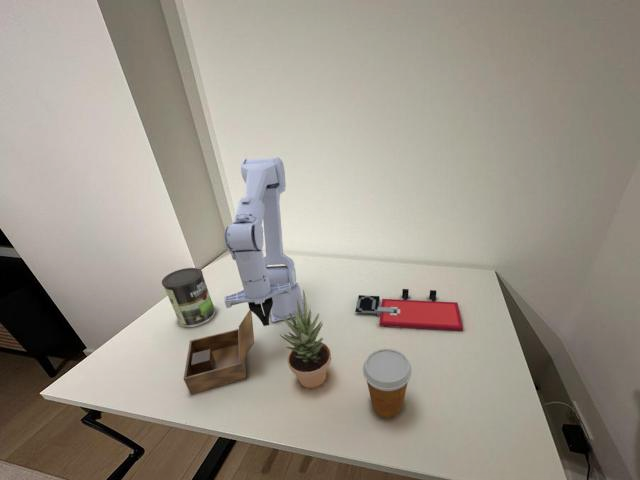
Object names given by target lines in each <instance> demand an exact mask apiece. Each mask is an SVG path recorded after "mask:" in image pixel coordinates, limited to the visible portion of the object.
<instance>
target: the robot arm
mask: <svg viewBox="0 0 640 480" xmlns="http://www.w3.org/2000/svg"><path fill="white" fill-rule="evenodd" d="M285 171H286V170H285V166H284V162H283V159H281V158H280V157H279V156H277V157H273V158H272V157H271V158H249V159H248V158H243V160H242V161H241V163H240V173H241V177H242V180H243V181H244V183H245V189H244V190H245V192H244V197H241V198H240V199H239V200H238V203H237V206H236V209H235V213H234V216H233V221H232V223H230V224H229V226H226V228H225V229H224V242H225V243H224V244H225V248H226V249H227V251H228V252H229V253H230V256H231V259H232V260H233V261H235V264H236V267H237V270H238V274H239V278H240V281H241V285H242V288H243V290H240V291H237V292H235V293H232V294H230V295H226V296H224V304H225V307H226V309H230V308H232V307H233V306H236V305H239V304H245V303H247V305H248V309H249V310H251V311H252V314H254V315H255V316H256V317H257V318H258V319H259V321H260V322H261V324H262V326H263V327H267V326H270V317H271V322H272V323H275V322H280V321H285V320H284V318H283V316H284V317H285V318H286V319H287V320H288V319H291V317H290V315H289V313H290V314H291V315H292V317H293V318H295V315H294V310H295V311H296V313H297V315H298V309H297V299H298V302H299V305H300V308H301V312H302V315H303V316H304V304H303V302H304V300H303V295H302V292H301V288H300V283H299V282H298V281H297V272H296V271H297V270H296V267H295V262H294V260H293V259H292V258H291V257H289V256H288V255H287V254H285V253H284V243H283V231H282V220H281V217H282V216H281V206H280V202H281V201H280V199H281V194H282V193H284V192H286V186H287V185H286V183H287V182H286V172H285ZM264 244H265V245H264ZM263 247H265V255H264V252H263V251H264V250H263Z"/></svg>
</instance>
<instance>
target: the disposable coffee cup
mask: <svg viewBox="0 0 640 480" xmlns="http://www.w3.org/2000/svg"><path fill="white" fill-rule="evenodd" d="M412 373H413V368H412V365H411V363H410V361H409V359H408V357H407V356H406V354H404V353H403V352H401V351H399V350H396V349H393V348H380V349H377V350H374V351H373V352H371V353H370V354H369V355H368V356H367V357H366V359H365V361H364V363H363V365H362V374H363V378H364V379H365V381H366V384H367V389H368V393H369V397H370V401H371V406H372V410H373V411H374V413H375V414H376V415H378V416H379V417H381V418H384V419H390V418H394V417H396V416H398V415H399V414H400V413H401V411H402V409H403V405H404V399H405V396H406V393H407V388H408V383H409V381H410V379H411V378H412Z"/></svg>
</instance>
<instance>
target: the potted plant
mask: <svg viewBox="0 0 640 480" xmlns="http://www.w3.org/2000/svg"><path fill="white" fill-rule="evenodd" d="M302 300H303V308H304V315H302V312H301V308H300V305H299V302H298V299H297V309H298V315H297V313H296V311H295V310H294V315H295V317H292V315H291V314H290V313H289V315H290V317H291V318H290V320H291V321H290V320H288V319H286V318H285V317H284V316H283V318H284V320H283V321H284V322H285V324H286V325H287V327H288V328H289V329H290V330H291V331H292V332H293V333H294V334H293V333H292V332H290V331H288V332H287V333H288V334H284V333H283V335H282V334H280V333H279V336H280V338H282V339H283V340H284V341H285V342H286V343H288V344H290V345H291V346H293V347H291V346H286V348H287V349H288V350H290V351H289V353H288V355H287V365H288V368H289V370H290V371H291V373H292V374H294V375H295V376H296V378H297V380H298V381H299V383H300V384H301V386H303V387H304V388H308V389H313V388H314V389H315V388H317V387H319V386H321V385H322V384H323V383H324V382H325V380H326V377H327V371H328V368H329V366H330V364H331V362H332V352H331V349H330V347H329V346H328V345H327V344H326V343H324V342H322V341H323V340H324V337H321V338H319V339H318V340H317V338H318V335H319V333H320V331H321V329H322V327H323V322H322V321H323V320H320V321H319V322H318V319H319V318H320V312H318V313H317V315H316V316H315V318H314V320H312V309H311V308H309V311H308V308H307V297H306V292H305V290H304V289H303V290H302ZM317 322H318V324H317ZM316 324H317V325H316Z"/></svg>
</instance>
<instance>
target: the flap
mask: <svg viewBox="0 0 640 480" xmlns="http://www.w3.org/2000/svg"><path fill="white" fill-rule="evenodd" d="M253 323H254V322H253V312H252V311H251V310H250V309H249V310H248V312H247V313H246V314H245V316H244V318H243V319H242V321H241V322H240V324H239V325H238V329H239V346H240V361H241V362H242V360H243V359H244V357H245V358H246V356H247V354H248V353H249V351H250V349H252V347H253V346H254V344H255V334H254V324H253Z"/></svg>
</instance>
